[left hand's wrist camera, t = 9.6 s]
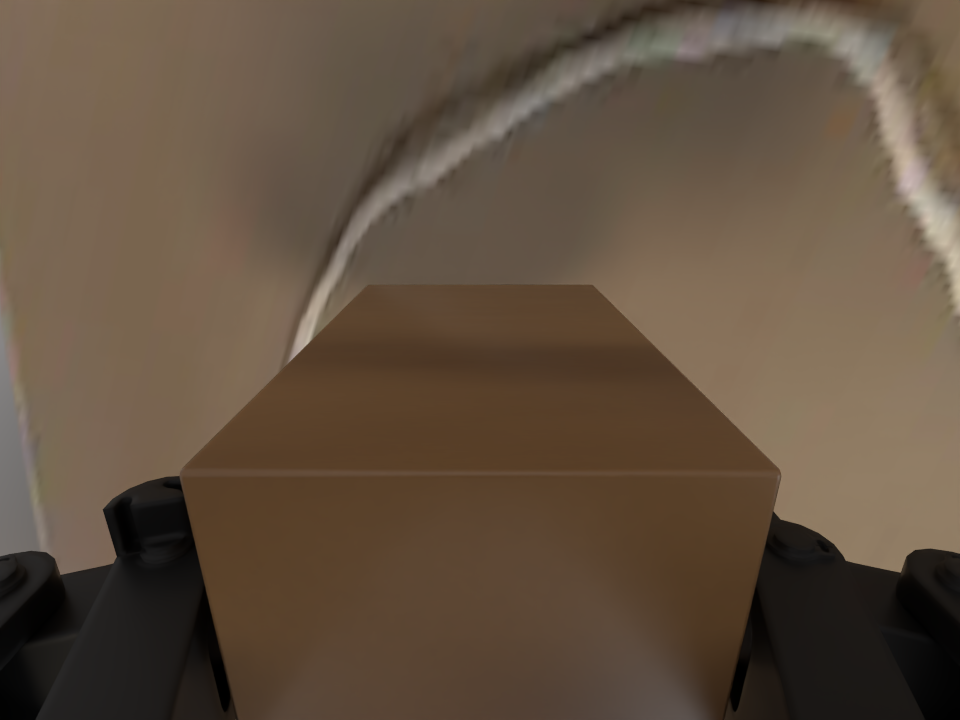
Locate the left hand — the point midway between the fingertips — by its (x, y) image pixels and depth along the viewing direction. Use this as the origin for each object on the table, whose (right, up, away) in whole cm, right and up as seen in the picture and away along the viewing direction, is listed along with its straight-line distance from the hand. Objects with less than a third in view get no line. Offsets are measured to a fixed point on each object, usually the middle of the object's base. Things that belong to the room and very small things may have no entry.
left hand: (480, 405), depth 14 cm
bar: (0, -9, +4) cm, 9 cm away
